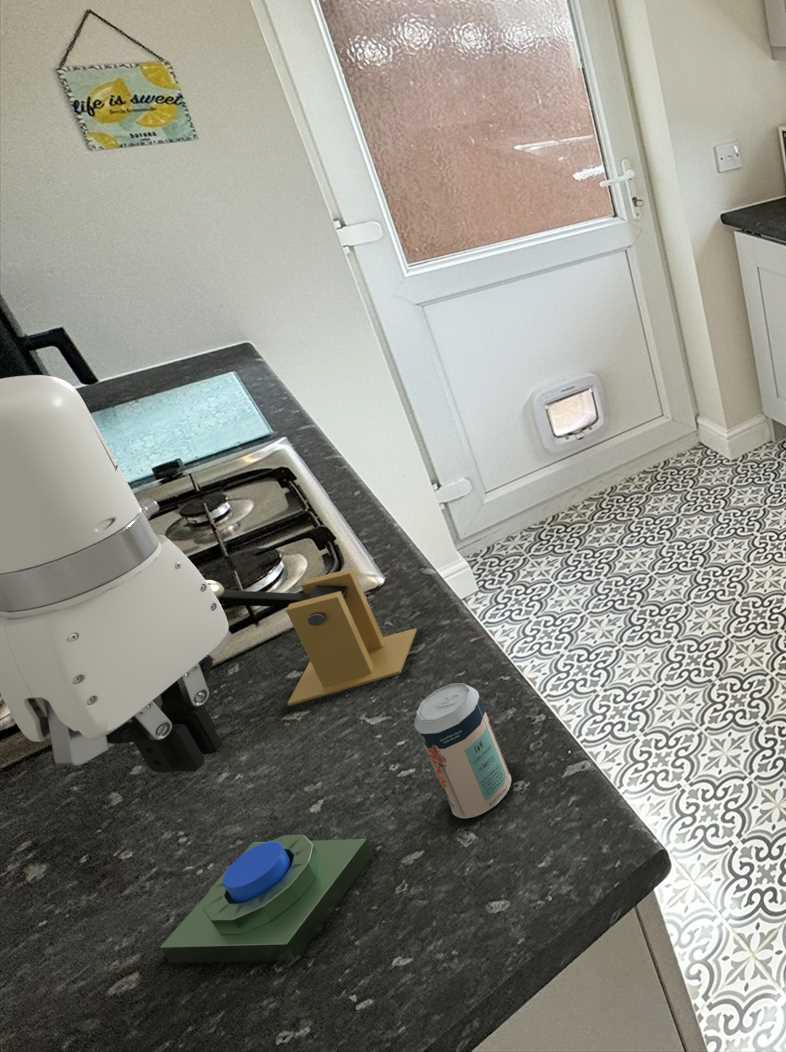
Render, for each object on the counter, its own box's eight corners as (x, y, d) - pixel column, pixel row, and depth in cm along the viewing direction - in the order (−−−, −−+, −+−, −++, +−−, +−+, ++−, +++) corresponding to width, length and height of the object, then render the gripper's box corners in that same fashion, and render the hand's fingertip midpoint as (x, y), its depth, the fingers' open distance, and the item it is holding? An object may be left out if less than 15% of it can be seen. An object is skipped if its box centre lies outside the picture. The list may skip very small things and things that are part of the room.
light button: (218, 903, 61) (209, 888, 60) (259, 856, 64) (251, 841, 64) (263, 902, 61) (254, 887, 60) (302, 854, 64) (294, 840, 64)
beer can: (462, 782, 74) (422, 687, 69) (518, 766, 75) (482, 672, 71) (445, 829, 69) (401, 732, 65) (505, 812, 71) (466, 715, 66)
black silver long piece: (170, 619, 77) (175, 592, 76) (187, 599, 80) (191, 572, 79) (334, 624, 83) (340, 599, 82) (345, 605, 86) (350, 580, 85)
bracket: (291, 712, 82) (246, 625, 78) (315, 664, 88) (276, 581, 84) (403, 679, 86) (366, 594, 81) (419, 635, 92) (386, 554, 88)
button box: (171, 965, 60) (148, 932, 59) (262, 859, 68) (244, 827, 66) (297, 961, 60) (277, 929, 59) (375, 855, 68) (359, 824, 66)
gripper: (136, 493, 58) (235, 677, 65) (-142, 651, 44) (21, 867, 51) (234, 489, 58) (323, 674, 65) (-13, 647, 44) (133, 863, 51)
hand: (190, 758), depth 58 cm, fingers closed
